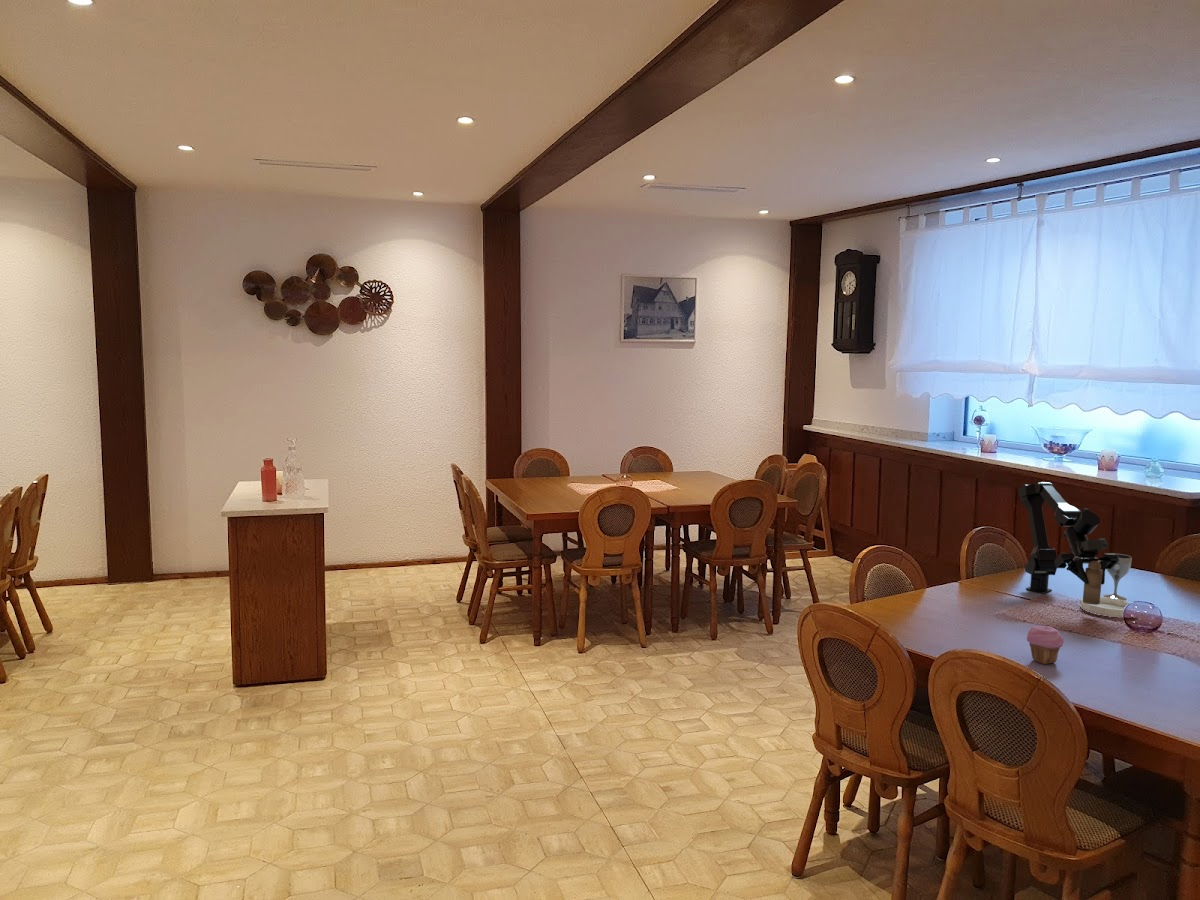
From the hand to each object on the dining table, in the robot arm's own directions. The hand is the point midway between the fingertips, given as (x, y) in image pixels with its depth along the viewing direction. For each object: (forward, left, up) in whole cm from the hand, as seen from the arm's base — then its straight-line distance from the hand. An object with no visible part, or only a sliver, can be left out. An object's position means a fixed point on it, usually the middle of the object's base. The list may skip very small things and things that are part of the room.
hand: (1095, 583), depth 280 cm
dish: (-12, 0, -11) cm, 17 cm away
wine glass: (-33, -6, -11) cm, 36 cm away
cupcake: (+57, +11, -11) cm, 59 cm away
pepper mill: (-1, -1, -7) cm, 7 cm away
